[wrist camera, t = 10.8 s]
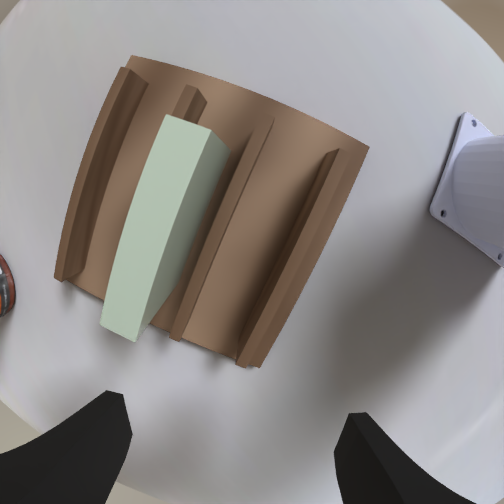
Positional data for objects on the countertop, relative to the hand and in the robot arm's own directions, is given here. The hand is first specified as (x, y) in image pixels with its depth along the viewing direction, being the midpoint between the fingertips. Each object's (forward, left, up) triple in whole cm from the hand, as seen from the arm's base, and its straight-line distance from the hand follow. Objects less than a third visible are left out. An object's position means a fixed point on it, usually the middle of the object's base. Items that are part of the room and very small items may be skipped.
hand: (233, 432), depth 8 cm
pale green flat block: (+5, -4, -10) cm, 12 cm away
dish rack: (+5, -4, -10) cm, 12 cm away
